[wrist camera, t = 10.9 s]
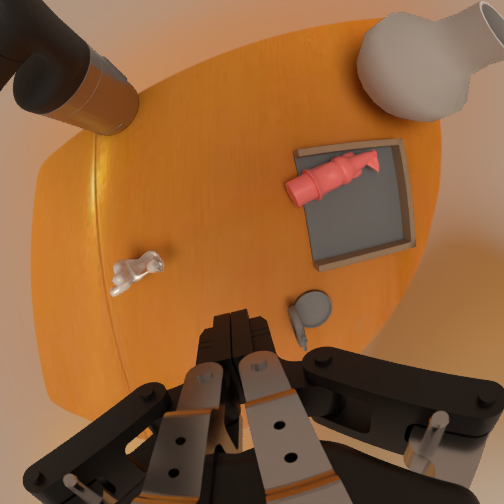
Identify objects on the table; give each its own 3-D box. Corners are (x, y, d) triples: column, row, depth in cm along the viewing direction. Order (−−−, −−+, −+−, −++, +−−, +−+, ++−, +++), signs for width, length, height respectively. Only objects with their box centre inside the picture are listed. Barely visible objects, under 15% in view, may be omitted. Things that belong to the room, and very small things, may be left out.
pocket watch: (337, 304, 46) (361, 331, 36) (304, 339, 47) (320, 372, 37) (304, 276, 44) (324, 300, 34) (269, 314, 45) (280, 346, 35)
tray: (292, 151, 39) (297, 149, 36) (393, 140, 40) (402, 138, 37) (313, 266, 44) (319, 272, 41) (406, 242, 44) (415, 246, 41)
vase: (348, 130, 39) (484, 84, 12) (327, 42, 35) (412, -57, 8) (426, 131, 40) (552, 115, 13) (405, 51, 36) (506, -3, 9)
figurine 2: (296, 212, 41) (376, 171, 40) (304, 212, 36) (391, 167, 35) (280, 181, 40) (362, 142, 40) (285, 177, 35) (375, 135, 35)
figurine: (116, 263, 41) (82, 290, 30) (158, 230, 41) (132, 248, 29) (133, 287, 42) (105, 320, 31) (176, 256, 42) (157, 282, 30)
